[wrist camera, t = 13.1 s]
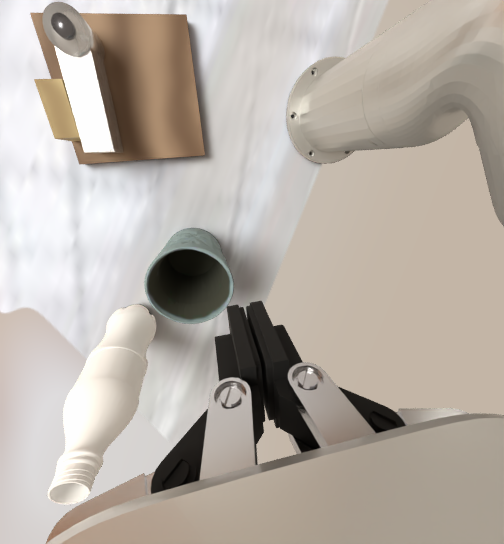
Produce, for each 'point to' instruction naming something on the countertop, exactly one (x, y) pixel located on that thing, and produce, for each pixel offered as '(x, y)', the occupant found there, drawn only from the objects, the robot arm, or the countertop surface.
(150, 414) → the countertop surface
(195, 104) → the lock base
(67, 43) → the latch bar
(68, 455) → the water bottle
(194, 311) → the green plant pot
